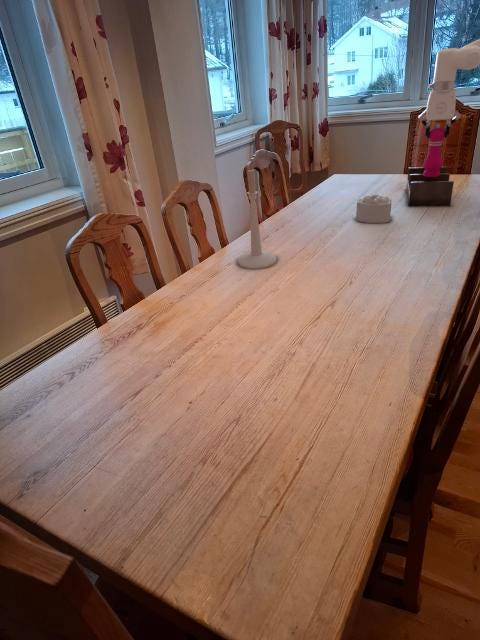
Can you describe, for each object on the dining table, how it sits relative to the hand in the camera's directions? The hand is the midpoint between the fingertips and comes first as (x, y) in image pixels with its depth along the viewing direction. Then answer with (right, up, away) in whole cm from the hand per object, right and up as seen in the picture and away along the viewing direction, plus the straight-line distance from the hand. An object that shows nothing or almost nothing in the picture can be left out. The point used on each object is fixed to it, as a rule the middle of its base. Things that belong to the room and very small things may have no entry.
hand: (436, 137), depth 172 cm
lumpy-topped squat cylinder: (-26, -33, 0) cm, 42 cm away
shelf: (+4, -19, +19) cm, 27 cm away
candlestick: (-73, -54, -27) cm, 95 cm away
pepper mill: (+1, -13, +8) cm, 15 cm away
